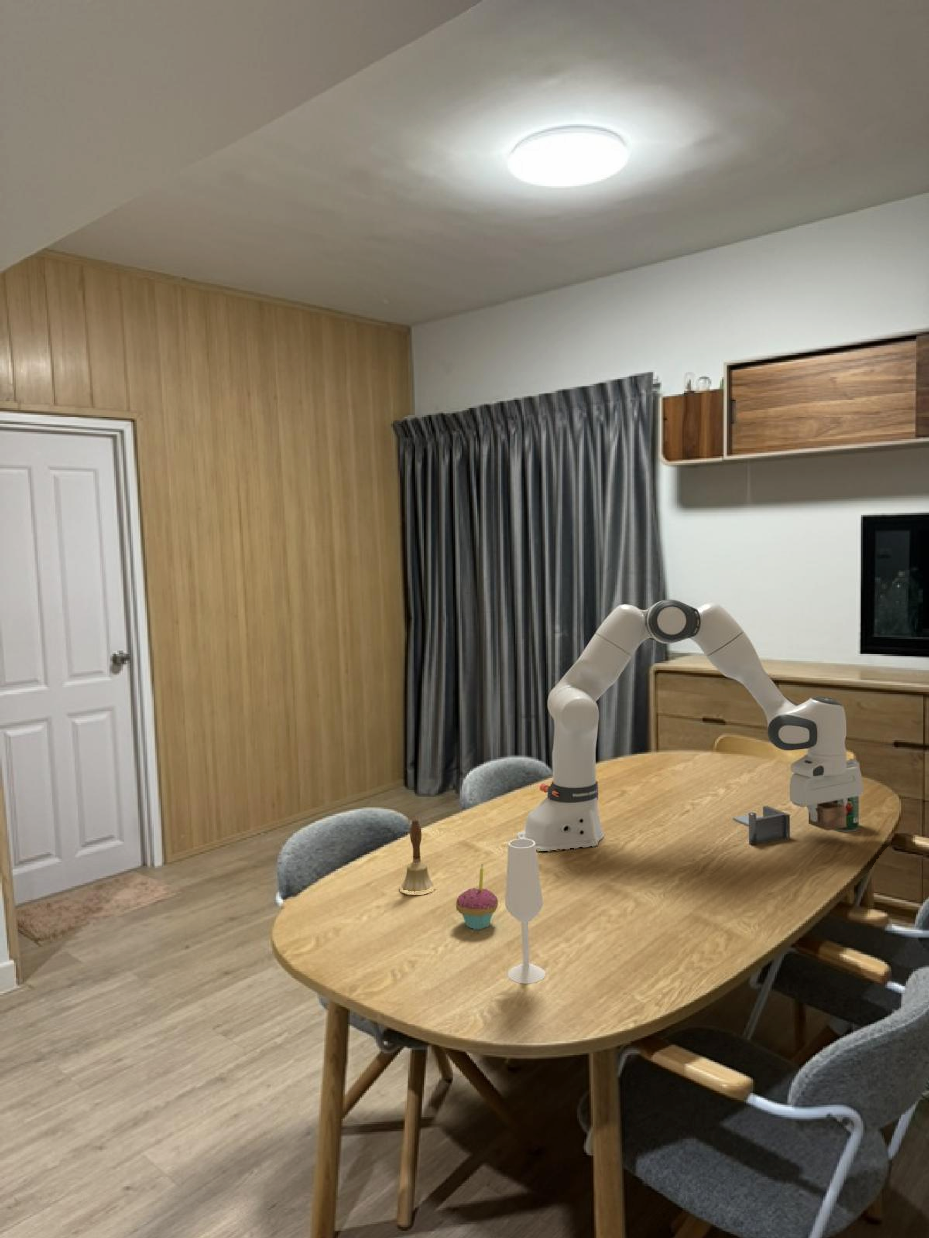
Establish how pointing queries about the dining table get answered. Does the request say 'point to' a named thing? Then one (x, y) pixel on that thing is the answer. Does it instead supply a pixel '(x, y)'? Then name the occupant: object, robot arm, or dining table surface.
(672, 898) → the dining table surface
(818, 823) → the brown hollow square block
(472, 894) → the cupcake
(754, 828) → the bent rail
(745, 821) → the mat
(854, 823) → the canned tomato
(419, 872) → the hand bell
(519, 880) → the champagne flute
